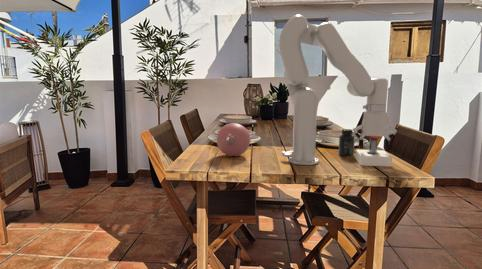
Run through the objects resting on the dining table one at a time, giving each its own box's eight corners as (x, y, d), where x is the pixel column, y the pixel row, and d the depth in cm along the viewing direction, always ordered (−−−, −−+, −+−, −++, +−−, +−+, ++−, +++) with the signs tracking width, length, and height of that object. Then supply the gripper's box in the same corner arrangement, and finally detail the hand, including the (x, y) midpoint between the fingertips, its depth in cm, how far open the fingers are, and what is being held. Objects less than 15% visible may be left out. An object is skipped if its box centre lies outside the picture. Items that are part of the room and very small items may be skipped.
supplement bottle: (356, 154, 148) (357, 129, 146) (349, 157, 143) (351, 131, 141) (342, 152, 153) (343, 128, 151) (335, 155, 148) (337, 129, 146)
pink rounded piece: (208, 161, 137) (207, 126, 134) (223, 151, 156) (222, 120, 153) (242, 163, 132) (242, 127, 130) (253, 153, 151) (253, 121, 149)
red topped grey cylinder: (367, 163, 133) (369, 135, 131) (365, 160, 137) (367, 133, 135) (379, 163, 132) (381, 135, 130) (376, 161, 137) (378, 133, 135)
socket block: (360, 165, 130) (360, 155, 129) (355, 158, 142) (355, 149, 141) (391, 166, 128) (392, 157, 127) (383, 159, 140) (384, 150, 139)
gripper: (356, 108, 129) (353, 149, 132) (401, 109, 126) (397, 151, 129) (352, 107, 136) (350, 146, 139) (395, 107, 133) (392, 147, 136)
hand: (373, 148), depth 134 cm, fingers open, 9 cm apart
